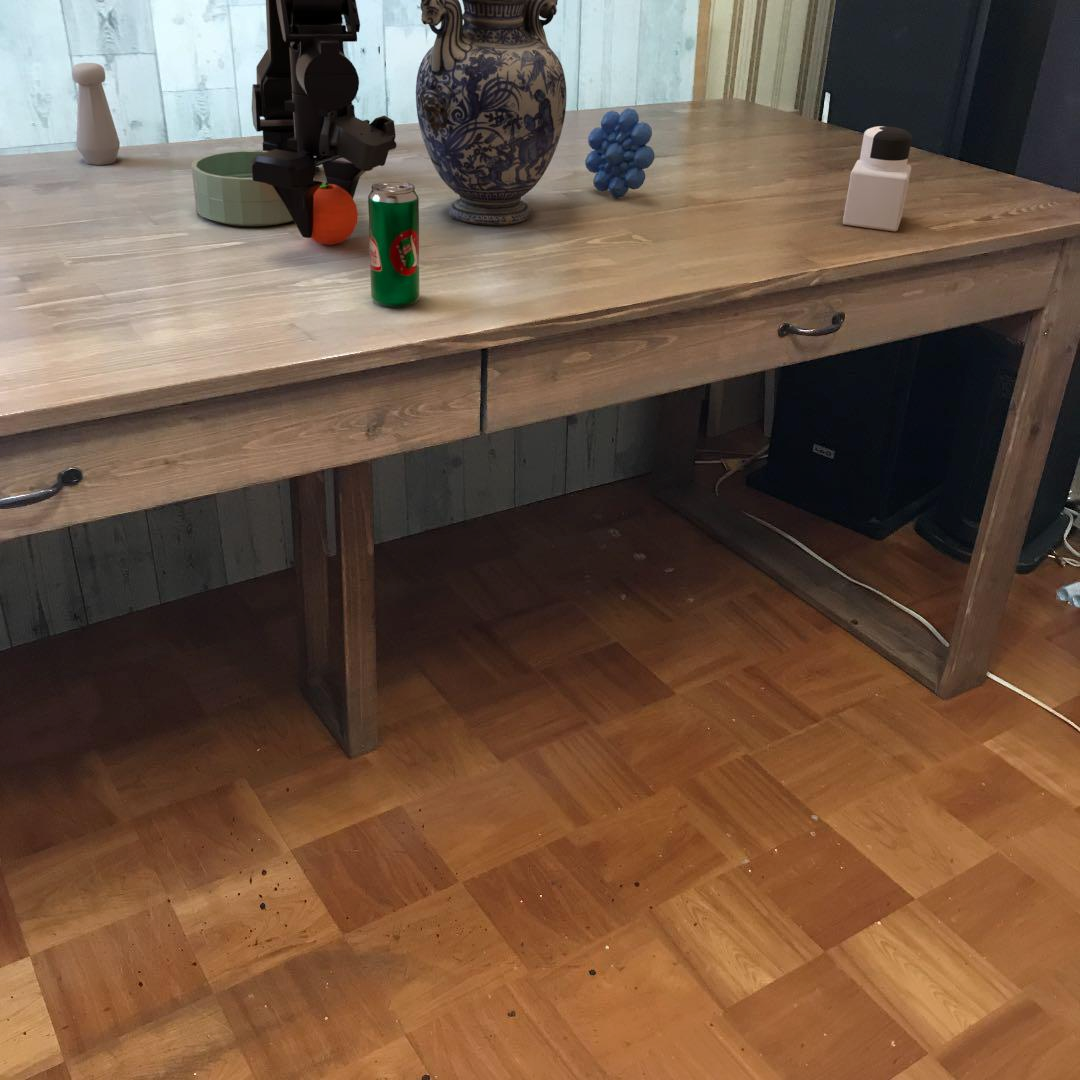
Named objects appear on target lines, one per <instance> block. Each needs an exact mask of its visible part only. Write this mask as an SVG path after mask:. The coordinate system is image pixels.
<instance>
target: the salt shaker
mask: <svg viewBox="0 0 1080 1080" xmlns="http://www.w3.org/2000/svg"><path fill="white" fill-rule="evenodd" d="M105 71H106V70H105V68H104V67H103V66H102V64H99V63H97V62H96V63H95V62H80V63H79V62H78V63H77V64H74V65H73V66H72V67H71V77H72V80H73V82H74V83H76V84H77V85H78V86H77V119H76V120H77V121H76V123H77V124H76V142H75V146H76V148H77V150H78V152H79V153H80V155H81V156H82V158H83V159H84V161H85V162H86V163H87V164H88V165H95V166H96V165H97V166H103V165H112V164H114V163H115V162H116V161H117V157H118V154H119V150H120V146H121V142H120V139H119V136H118V132H117V129H116V125H115V122H114V119H113V116H112V113H111V109H110V105H109V102H108V100H107V96H106V92H105V90H104V86H103V83H104V82H106V72H105Z"/></svg>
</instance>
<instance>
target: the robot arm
mask: <svg viewBox="0 0 1080 1080" xmlns="http://www.w3.org/2000/svg"><path fill="white" fill-rule="evenodd" d="M265 16H266V17H265V19H266V38H267V39H266V41H267V42H266V43H267V44H266V45H267V47H266V48H267V49H266V51H265V53H264V54H263V55H262V57H261V58H260V60H259V62H258V63H257V65H256V69H255V71H256V83H252V85H251V86H252V87H251V88H252V90H251V117H252V125H253V127H254V129H255V131H256V132H257V133H259V132H262V151H268V152H265V153H261V154H258V155H257V156H256V157H255V158H254V159H253V160H252V162H251V168H252V179H253V181H257V182H262V183H267V184H268V185H272V186H273V187H274V189H275V190H276V192H277V193H278V195H279V196H280V198H281V199H282V201H283V203H284V204H285V206H286V208H287V209H288V211H289V213H290V215H291V217H292V218H293V222H294V224H295V226H296V228H297V230H298V231H299V233H300V235H301V236H302V237H303V238H306V239H311V237H312V230H313V198H314V193H315V192H316V191H317V190H318V188H319V187H320V186H321V185H322V183H324V182H323V181H320V180H316V179H315V178H316V175H317V173H318V172H320V168H321V167H319V166H322V168H323V172H324V173H323V174H324V176H325V181H326V183H328V184H334V185H338V186H340V187H341V188H343V189H344V190H346V191H347V192H348V193H349V194H350V195H351V197H352V198H353V199H354V197H355V194H356V191H357V188H358V184H359V180H360V178H361V177H362V176H363V175H364V174H365V173H366V172H369V171H370V172H371V171H372V170H373V169H374V168H377V167H379V166H380V167H383V166H385V165H386V162H387V158H388V155H389V151H392V150H394V149H396V148H397V142H396V128H395V126H396V125H395V121H394V120H393V119H391V118H390V117H388V116H386V115H381V116H378V117H375V118H374V119H373V120H372V121H370V120H369V119H364V120H363V119H360V118H358V117H356V114H355V105H354V104H353V101H354V100H355V98H356V97H357V95H358V92H359V86H360V77H359V74H358V71H357V69H356V67H355V65H354V64H353V62H352V61H351V60H350V59H349V58H348V56H346V54H345V51H344V43H345V42H349V43H351V42H353V43H354V42H355V43H357V42H358V33H360V29H361V22H360V16H359V10H358V6H357V0H265ZM343 18H344V21H343ZM344 22H345V24H343V23H344Z"/></svg>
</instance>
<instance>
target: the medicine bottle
mask: <svg viewBox="0 0 1080 1080" xmlns="http://www.w3.org/2000/svg"><path fill="white" fill-rule="evenodd" d="M912 141H913V136H912V134H911V133H910V132H908V131H907V130H905V129H903V128H899V127H896V126H885V125H883V126H882V125H881V126H880V125H878V126H873V127H870V128H867V129H866V130H865V131H864V132H863V137H862V142H861V148H860V154H859V159H857V160H856V162H855V164H854V165H853V168H852V170H851V172H850V177H849V183H848V188H847V189H848V190H847V194H846V200H845V205H844V210H843V218H842V224H843V226H850V227H857V228H865V229H873V230H880V231H888V232H897V231H898V229H899V227H900V224H901V221H902V217H903V212H904V208H905V203H906V197H907V193H908V187H909V184H910V183H909V182H910V177H911V173H912V166H911V165H910V164H908V162H909V161H908V160H909V157H910V156H909V155H910V150H911V145H912Z"/></svg>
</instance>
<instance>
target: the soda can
mask: <svg viewBox="0 0 1080 1080" xmlns="http://www.w3.org/2000/svg"><path fill="white" fill-rule="evenodd" d="M415 189H416V187H415V185H414V184H412V183H410V182H405V181H399V180H398V181H397V180H387V181H386V180H385V181H378V182H375V183H373V184H372V185H371V191H370V193H369V194H368V196H367V197H368V198H367V202H368V203H367V208H368V236H369V239H368V240H369V269H370V270H369V271H370V296H371V298H372V299H373V301H374V302H375V304H377V305H380V306H382V307H386V308H406V307H410V306H412V305H414V304H415V303H416V302H417V301H418V300H419V298H420V207H419V205H420V201H419V199H420V198H419V196H418V194H417V192H416V190H415Z"/></svg>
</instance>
